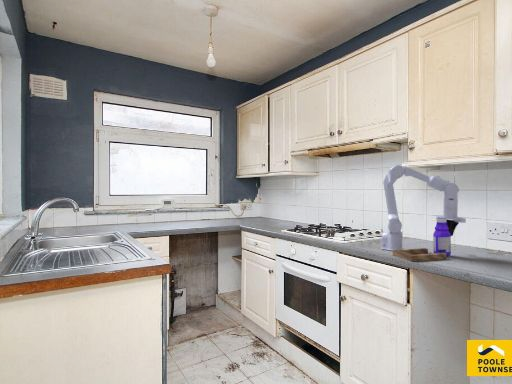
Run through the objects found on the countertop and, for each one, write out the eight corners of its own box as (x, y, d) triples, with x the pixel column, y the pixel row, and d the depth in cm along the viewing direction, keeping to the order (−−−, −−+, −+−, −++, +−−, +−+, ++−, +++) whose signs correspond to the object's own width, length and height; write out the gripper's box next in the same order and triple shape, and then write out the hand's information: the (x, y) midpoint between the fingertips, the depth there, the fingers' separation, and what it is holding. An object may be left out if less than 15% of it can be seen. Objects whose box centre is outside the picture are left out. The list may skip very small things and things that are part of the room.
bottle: (445, 253, 148) (444, 218, 148) (453, 256, 143) (452, 219, 142) (431, 254, 148) (430, 219, 147) (438, 257, 142) (437, 220, 142)
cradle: (425, 253, 150) (425, 248, 150) (446, 259, 138) (446, 253, 138) (392, 255, 145) (392, 250, 145) (411, 261, 133) (411, 255, 133)
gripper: (471, 208, 140) (470, 238, 140) (444, 206, 154) (443, 233, 154) (459, 209, 138) (458, 238, 138) (432, 206, 152) (432, 233, 152)
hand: (449, 235), depth 146 cm, fingers closed, pressing on bottle
